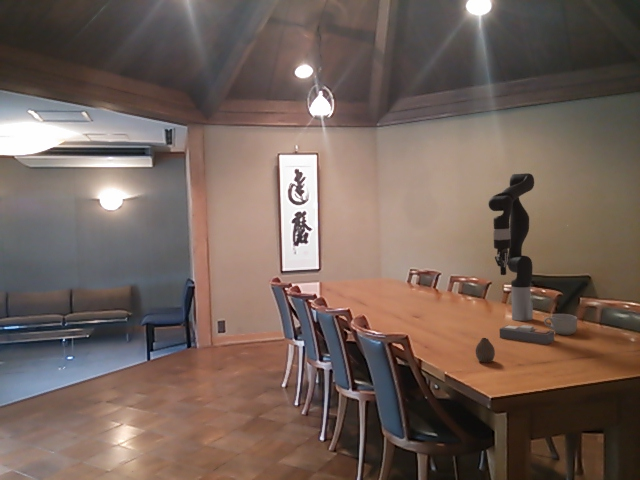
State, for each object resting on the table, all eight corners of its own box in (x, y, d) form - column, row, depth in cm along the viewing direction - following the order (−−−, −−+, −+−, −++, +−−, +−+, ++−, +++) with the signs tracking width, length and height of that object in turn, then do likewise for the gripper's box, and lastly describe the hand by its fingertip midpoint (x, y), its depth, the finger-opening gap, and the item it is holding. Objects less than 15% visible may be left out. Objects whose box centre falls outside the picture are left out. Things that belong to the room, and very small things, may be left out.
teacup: (575, 331, 222) (575, 313, 222) (579, 336, 212) (579, 318, 212) (542, 329, 227) (542, 313, 227) (544, 335, 217) (544, 318, 216)
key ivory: (518, 332, 217) (518, 326, 216) (514, 334, 213) (514, 328, 213) (508, 330, 220) (508, 325, 220) (504, 332, 216) (504, 327, 216)
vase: (472, 359, 186) (472, 336, 186) (490, 358, 187) (489, 335, 186) (480, 364, 179) (479, 341, 179) (498, 363, 180) (497, 340, 180)
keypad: (554, 340, 208) (554, 331, 208) (547, 344, 202) (547, 335, 202) (507, 333, 222) (507, 325, 222) (499, 337, 216) (499, 328, 216)
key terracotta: (549, 336, 208) (549, 330, 207) (545, 338, 204) (545, 332, 204) (538, 334, 211) (538, 329, 211) (534, 337, 207) (534, 331, 207)
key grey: (533, 331, 212) (533, 326, 212) (529, 334, 209) (529, 328, 209) (523, 330, 215) (522, 325, 215) (519, 332, 212) (518, 327, 212)
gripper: (499, 237, 235) (501, 272, 236) (488, 239, 225) (489, 276, 226) (515, 237, 230) (516, 273, 231) (504, 239, 220) (505, 277, 221)
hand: (503, 274), depth 228 cm, fingers closed
